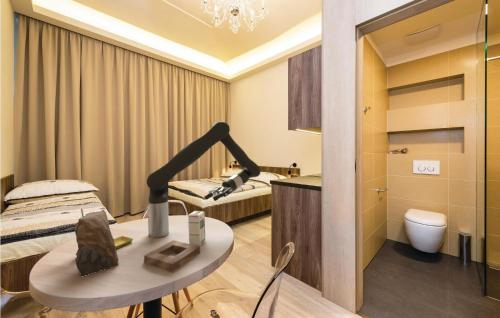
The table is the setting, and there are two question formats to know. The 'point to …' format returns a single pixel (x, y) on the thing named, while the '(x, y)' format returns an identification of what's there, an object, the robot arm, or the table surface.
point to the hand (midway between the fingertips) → (209, 198)
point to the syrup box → (196, 228)
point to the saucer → (122, 241)
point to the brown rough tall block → (95, 244)
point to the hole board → (172, 263)
